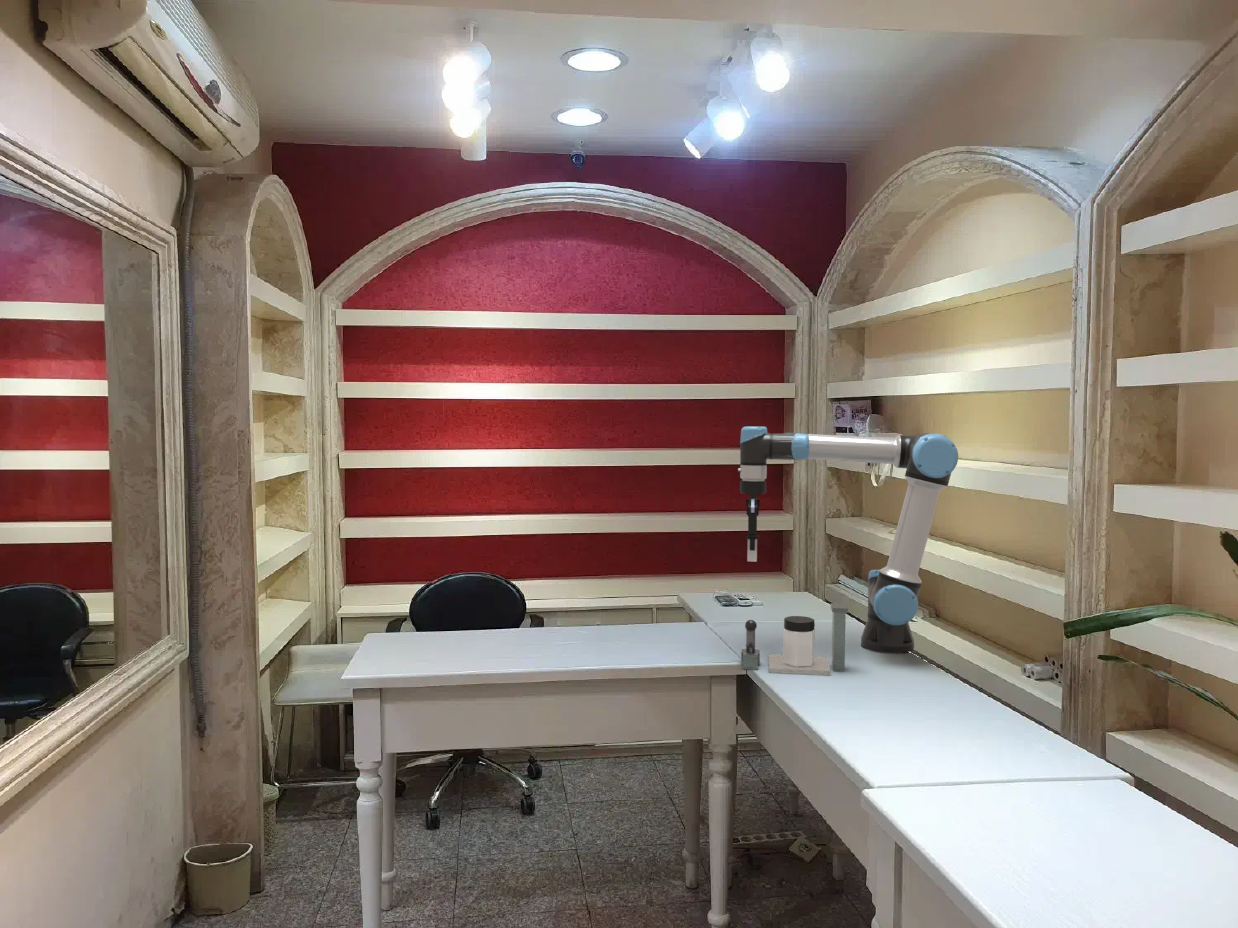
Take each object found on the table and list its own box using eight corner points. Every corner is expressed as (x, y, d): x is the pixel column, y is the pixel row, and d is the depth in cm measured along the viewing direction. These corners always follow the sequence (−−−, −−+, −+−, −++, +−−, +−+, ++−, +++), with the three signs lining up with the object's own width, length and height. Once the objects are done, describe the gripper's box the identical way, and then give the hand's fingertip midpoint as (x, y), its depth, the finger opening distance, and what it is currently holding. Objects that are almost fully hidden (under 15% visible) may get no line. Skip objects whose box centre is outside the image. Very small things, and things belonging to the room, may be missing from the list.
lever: (759, 658, 244) (760, 618, 243) (759, 662, 240) (760, 621, 239) (741, 657, 245) (741, 617, 244) (741, 661, 241) (741, 621, 240)
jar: (821, 663, 238) (822, 619, 238) (802, 668, 233) (802, 624, 232) (795, 656, 245) (796, 614, 244) (776, 661, 240) (776, 618, 239)
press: (842, 658, 247) (843, 598, 246) (848, 676, 230) (849, 611, 230) (743, 654, 252) (744, 594, 251) (742, 671, 235) (743, 607, 234)
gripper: (740, 478, 260) (739, 557, 261) (739, 481, 247) (738, 564, 248) (766, 478, 258) (765, 557, 260) (766, 481, 246) (765, 565, 247)
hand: (752, 561), depth 254 cm, fingers closed
